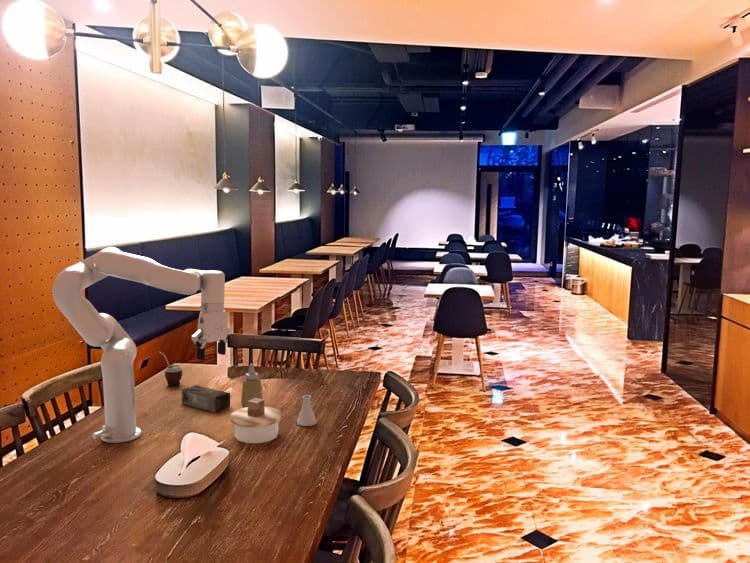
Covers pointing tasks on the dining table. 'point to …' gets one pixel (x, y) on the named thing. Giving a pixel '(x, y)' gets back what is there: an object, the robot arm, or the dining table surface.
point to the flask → (306, 413)
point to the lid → (255, 414)
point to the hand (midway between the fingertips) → (211, 356)
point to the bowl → (256, 433)
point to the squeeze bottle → (251, 387)
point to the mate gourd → (172, 374)
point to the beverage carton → (206, 398)
